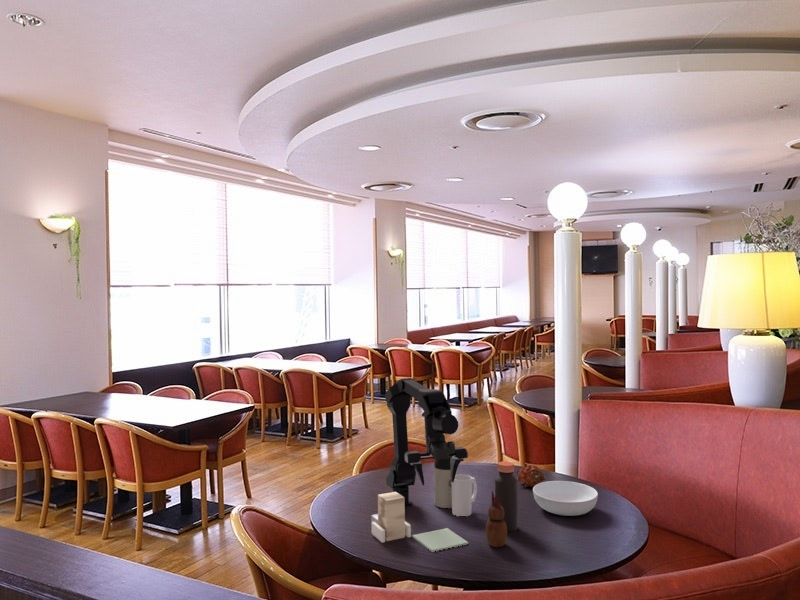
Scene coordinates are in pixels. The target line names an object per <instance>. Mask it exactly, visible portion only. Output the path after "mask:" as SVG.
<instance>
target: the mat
mask: <svg viewBox="0 0 800 600" xmlns="http://www.w3.org/2000/svg"><path fill="white" fill-rule="evenodd" d="M411 537H412V538H413V539H414V540H415V541H417V542H418V543H419V544H420V545H422V546H423V547H424V548H426V549H427V550H428V549H429V550H428V551H430V552H431V553H436V552H440V551H439V550H441V551H444V550H443V549H445V550H449V549H448V548H450V549H453V548H452V547H454V548H458V546H459V547H462V545H463V546H466V545H467V544H468V545H469V541H467V540H466V539H464V538H463V537H461V536H460V535H458V534H457V533H456V532H454V531H452V530H451V529H449V528H448V527H446V528H442V529H436V530H432V531H427V532H421V533H417V534H411ZM435 551H436V552H435Z"/></svg>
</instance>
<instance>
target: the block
mask: <svg viewBox="0 0 800 600" xmlns="http://www.w3.org/2000/svg"><path fill="white" fill-rule="evenodd" d="M405 508H406V505H405V497H403V496H402V495H400V494H399V493H397V492H392V491H391V492H386V493H381V494H380V493H379V494H377V514H378V525H379V526H380V527H382V528H383V529H384V530H385V542H391V541H394V540H399V539H404V538H405V537H406V536H405V521H406V518H405V517H406V513H405Z"/></svg>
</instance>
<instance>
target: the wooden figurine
mask: <svg viewBox="0 0 800 600" xmlns="http://www.w3.org/2000/svg"><path fill="white" fill-rule="evenodd" d="M487 513H488V519H487V521H486V524H485V536H486V540H487V544H489V546H491V547H494V548H502V547H503V546H504V545H505V544H506V541H507V538H508V532H507V526H506V523H505V521H504V520H503V518H504V509H503V507H502V506H501V505H500V502H499V501H498V499H497V498H496V494H495V493H494V491H491V505H490V506H489V507H488V511H487Z"/></svg>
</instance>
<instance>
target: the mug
mask: <svg viewBox="0 0 800 600" xmlns="http://www.w3.org/2000/svg"><path fill="white" fill-rule="evenodd" d="M451 487H452V508H451V509H452V510H451V512H452V515H453V516H455V515H456V517H459V516H466V517H469V516H471V515H472V508H473V507H472V506H473V505H472V504H473V503H475V501H476V498H477V492H478V485H477V482H476V478H475V477H472V476H471V475H469V474H465V473H463V474H461V473H458V474H457V475H455V479H454V482H452V481H451Z"/></svg>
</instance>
